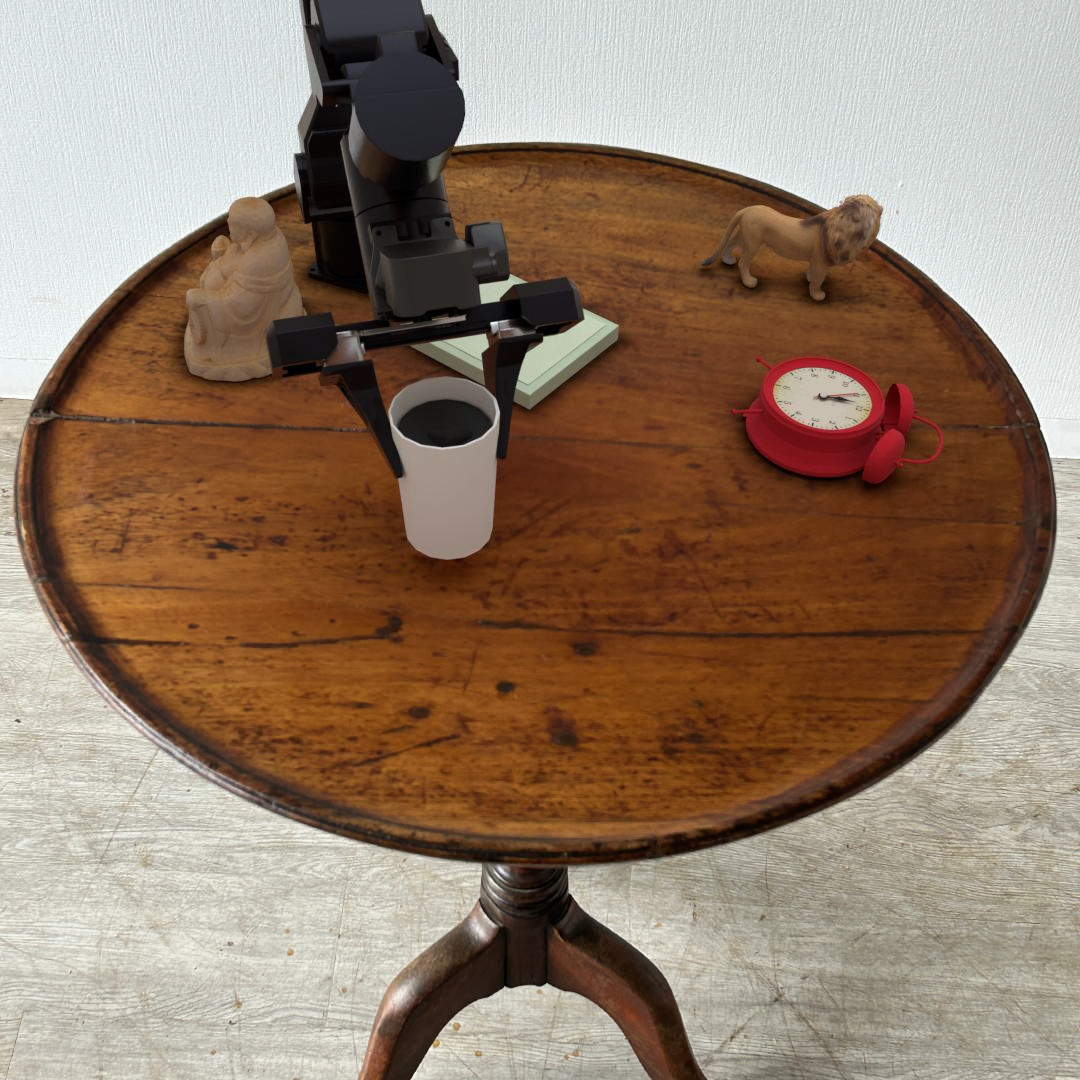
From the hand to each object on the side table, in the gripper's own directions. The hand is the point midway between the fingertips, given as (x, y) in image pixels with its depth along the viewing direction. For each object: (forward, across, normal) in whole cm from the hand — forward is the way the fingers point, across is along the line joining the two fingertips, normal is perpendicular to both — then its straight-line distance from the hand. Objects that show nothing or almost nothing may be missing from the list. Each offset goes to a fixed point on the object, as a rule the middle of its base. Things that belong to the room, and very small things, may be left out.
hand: (450, 468), depth 69 cm
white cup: (+4, 0, +6) cm, 7 cm away
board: (-10, +11, +25) cm, 29 cm away
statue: (-14, -10, +29) cm, 34 cm away
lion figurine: (-12, +38, +27) cm, 48 cm away
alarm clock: (+3, +32, +12) cm, 34 cm away
